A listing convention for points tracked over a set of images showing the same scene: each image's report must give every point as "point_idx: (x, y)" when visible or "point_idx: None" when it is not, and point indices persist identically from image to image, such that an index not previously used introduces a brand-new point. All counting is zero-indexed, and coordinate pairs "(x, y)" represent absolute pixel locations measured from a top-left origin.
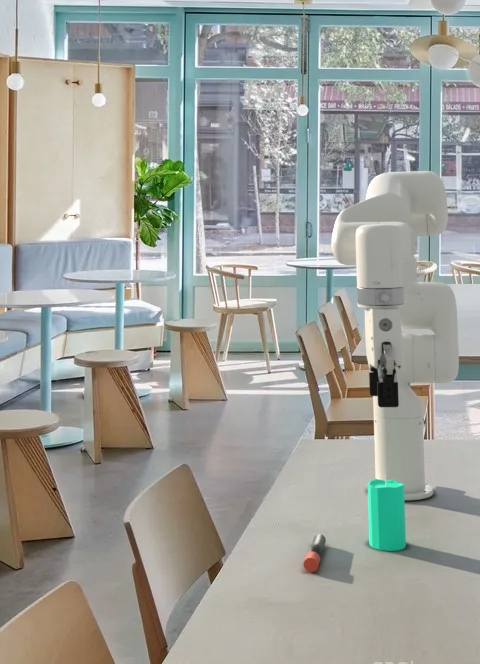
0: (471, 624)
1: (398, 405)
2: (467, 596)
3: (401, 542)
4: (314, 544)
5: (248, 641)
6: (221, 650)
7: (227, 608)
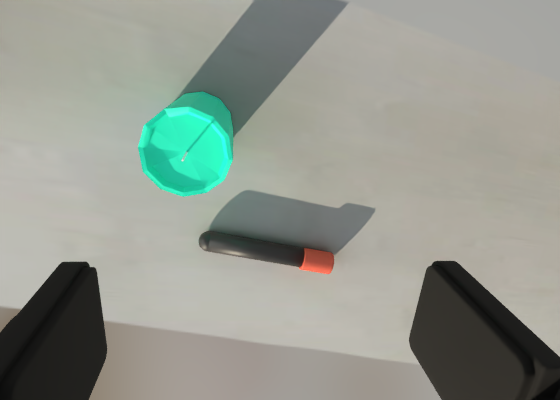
0: (543, 76)
1: (454, 261)
2: (450, 48)
3: (223, 105)
4: (260, 257)
5: None
6: None
7: None
